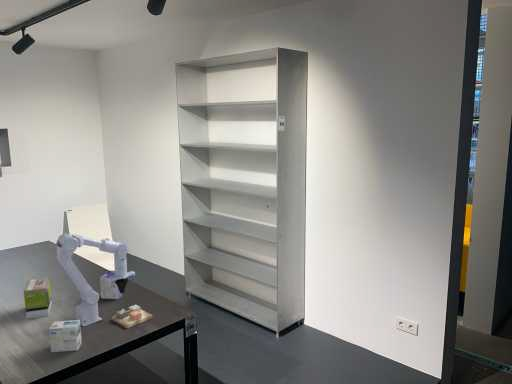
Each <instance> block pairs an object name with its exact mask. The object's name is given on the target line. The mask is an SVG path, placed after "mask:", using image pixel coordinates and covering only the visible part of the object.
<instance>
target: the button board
mask: <svg viewBox="0 0 512 384" xmlns="http://www.w3.org/2000/svg"><path fill="white" fill-rule="evenodd" d="M127 311H128V317H125V318H122V319H119V318H118V317H116V314H115V315H113V316H111V320H112V321H113V322H115V323H117V324H119V325H120V326H122V327H124V328H125V329H129V328H131V327H134V326H137V325H139V324H141V323H143V322H146V321H149V320H151V319H153V314H151V313H149V312H147V311H145V310H144V309H141V314H142V318H140V319H137V320H132V319H131V318H130V317H129V313H130V312H129V309H128V310H127Z"/></svg>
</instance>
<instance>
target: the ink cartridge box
mask: <svg viewBox="0 0 512 384" xmlns="http://www.w3.org/2000/svg"><path fill="white" fill-rule="evenodd" d="M114 275H115V270H108V272H107V273H104V274H102V275H101V276H100V277H99V280H100V299H105V300H107V299H109V300H119V299H120V298H122V297H123V293H122V294H121V293H120V292H119V289H118V286H117V284H116V283H115V281H113V282H111V283H107V278H110V277H112V276H114Z"/></svg>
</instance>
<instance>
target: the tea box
mask: <svg viewBox="0 0 512 384" xmlns="http://www.w3.org/2000/svg"><path fill="white" fill-rule="evenodd" d="M24 287H25V288H24V289H23V297H24V306H25V319H27V320H28V319H35V318H36V319H37V318H42V317H44V318H45V317H49V316H50V315H49V314H50V312H51V308H52V307H51V306H52V296H51V295H52V293H51V283H50V277H43V278H42V277H41V278H34V279H28V280H27V282H26V285H25V286H24Z"/></svg>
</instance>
